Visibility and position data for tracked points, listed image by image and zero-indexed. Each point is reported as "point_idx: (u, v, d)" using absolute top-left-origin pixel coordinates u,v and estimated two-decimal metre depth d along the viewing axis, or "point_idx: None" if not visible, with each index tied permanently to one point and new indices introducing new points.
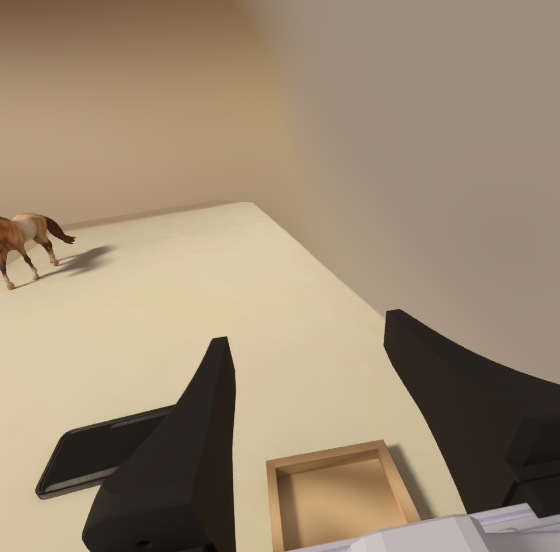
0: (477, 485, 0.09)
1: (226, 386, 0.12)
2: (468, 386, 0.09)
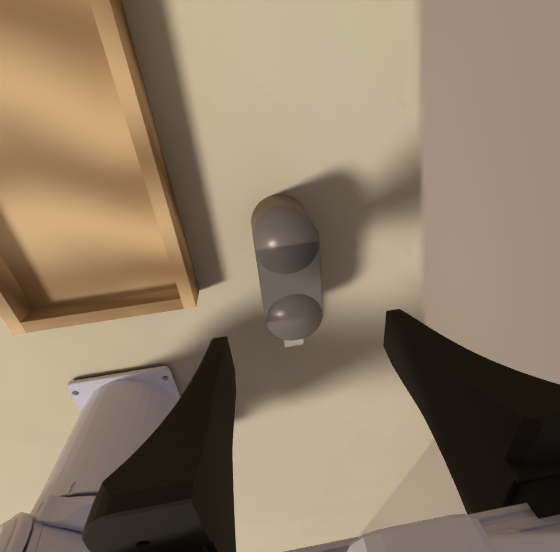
0: (477, 485, 0.09)
1: (226, 386, 0.12)
2: (468, 386, 0.09)
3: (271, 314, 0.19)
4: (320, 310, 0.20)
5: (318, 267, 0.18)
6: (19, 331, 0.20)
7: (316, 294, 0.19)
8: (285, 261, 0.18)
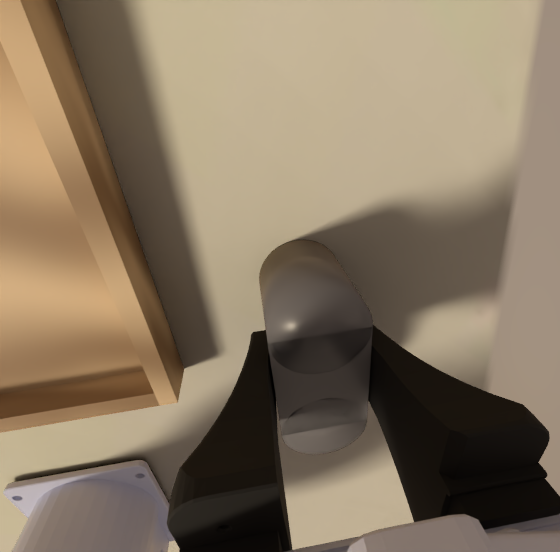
0: (420, 496, 0.09)
1: (271, 378, 0.12)
2: (409, 396, 0.09)
3: (290, 425, 0.13)
4: (364, 416, 0.13)
5: (367, 362, 0.11)
6: None
7: (361, 397, 0.12)
8: (316, 356, 0.11)
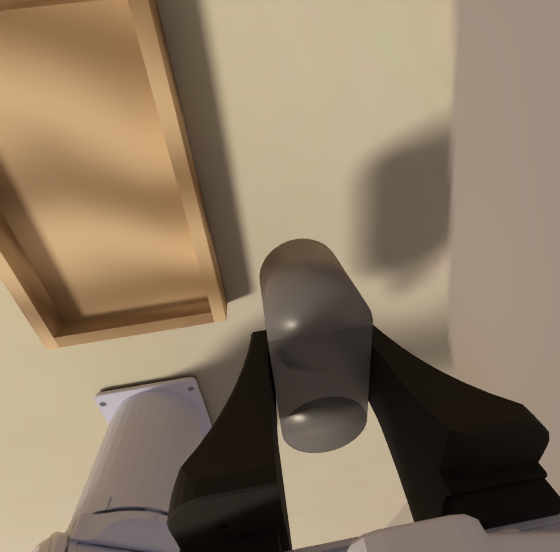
0: (420, 496, 0.09)
1: (271, 378, 0.12)
2: (409, 396, 0.09)
3: (290, 423, 0.13)
4: (364, 414, 0.13)
5: (367, 360, 0.11)
6: (52, 346, 0.20)
7: (361, 395, 0.12)
8: (316, 355, 0.11)
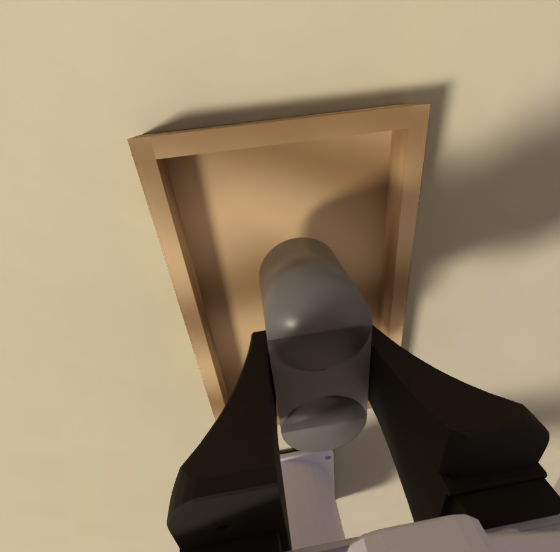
0: (420, 496, 0.09)
1: (271, 378, 0.12)
2: (409, 396, 0.09)
3: (290, 422, 0.13)
4: (364, 414, 0.13)
5: (367, 359, 0.11)
6: None
7: (360, 395, 0.12)
8: (315, 353, 0.11)
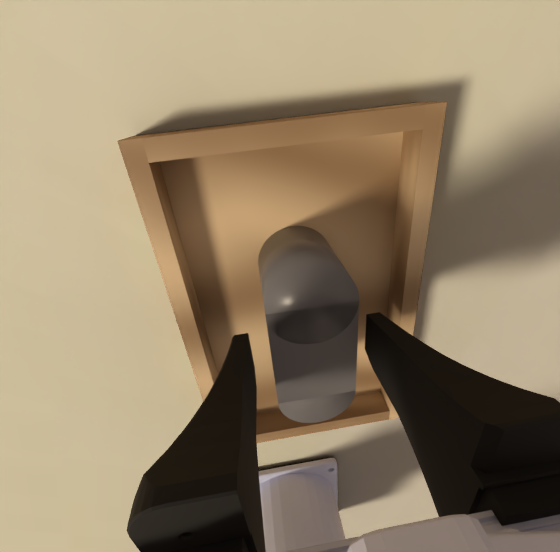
0: (448, 491, 0.09)
1: (250, 382, 0.12)
2: (437, 391, 0.09)
3: (286, 393, 0.14)
4: (353, 386, 0.14)
5: (355, 334, 0.13)
6: None
7: (350, 368, 0.14)
8: (308, 328, 0.12)
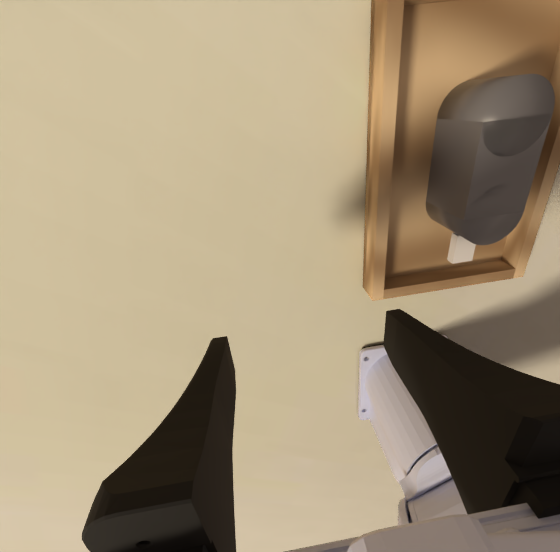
0: (477, 485, 0.09)
1: (226, 386, 0.12)
2: (468, 386, 0.09)
3: (472, 209, 0.17)
4: (523, 207, 0.18)
5: (540, 149, 0.16)
6: (378, 297, 0.23)
7: (526, 185, 0.17)
8: (509, 139, 0.16)
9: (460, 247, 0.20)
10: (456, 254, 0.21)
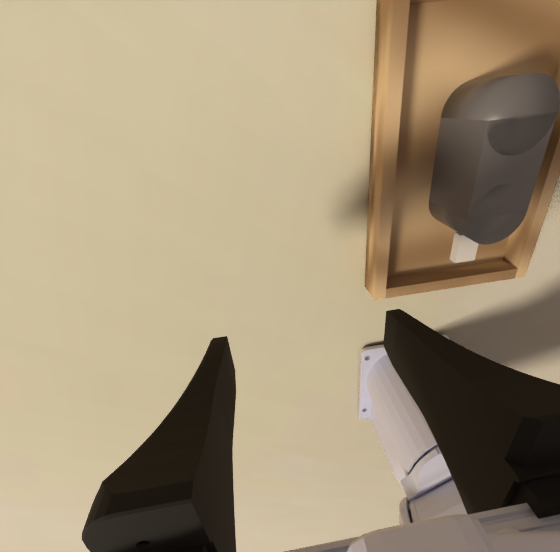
0: (477, 485, 0.09)
1: (226, 386, 0.12)
2: (468, 386, 0.09)
3: (476, 208, 0.17)
4: (526, 206, 0.18)
5: (544, 148, 0.16)
6: (381, 297, 0.23)
7: (530, 185, 0.17)
8: (513, 138, 0.16)
9: (463, 246, 0.20)
10: (459, 253, 0.21)
